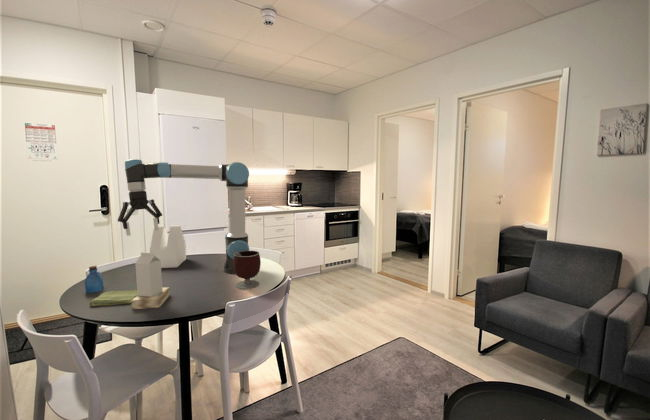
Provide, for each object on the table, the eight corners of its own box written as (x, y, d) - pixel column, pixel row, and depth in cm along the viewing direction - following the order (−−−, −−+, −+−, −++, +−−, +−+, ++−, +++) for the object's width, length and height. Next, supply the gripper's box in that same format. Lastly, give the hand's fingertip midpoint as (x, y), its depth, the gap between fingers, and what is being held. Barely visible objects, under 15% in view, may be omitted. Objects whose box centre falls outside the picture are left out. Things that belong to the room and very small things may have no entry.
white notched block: (177, 267, 193) (174, 228, 190) (151, 268, 190) (148, 228, 188) (186, 259, 212) (184, 223, 209) (162, 260, 209) (160, 224, 207)
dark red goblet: (252, 278, 171) (251, 243, 169) (266, 285, 161) (265, 248, 159) (226, 285, 160) (224, 248, 158) (239, 293, 150) (238, 253, 148)
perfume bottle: (85, 293, 150) (83, 269, 149) (88, 289, 155) (86, 266, 154) (101, 291, 153) (99, 267, 151) (103, 287, 158) (101, 264, 157)
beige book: (169, 295, 147) (169, 287, 147) (159, 307, 134) (158, 298, 133) (145, 296, 145) (144, 288, 145) (132, 309, 132) (131, 300, 131)
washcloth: (131, 305, 137) (131, 298, 137) (88, 308, 134) (87, 301, 134) (143, 294, 150) (143, 288, 149) (104, 296, 147) (103, 290, 146)
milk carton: (150, 297, 135) (148, 255, 133) (137, 295, 136) (134, 254, 134) (162, 291, 142) (160, 251, 139) (149, 290, 143) (147, 250, 141)
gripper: (158, 189, 165) (163, 228, 167) (105, 193, 144) (112, 237, 146) (165, 188, 160) (171, 228, 162) (112, 192, 140) (119, 237, 142)
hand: (143, 232), depth 154 cm, fingers open, 13 cm apart
